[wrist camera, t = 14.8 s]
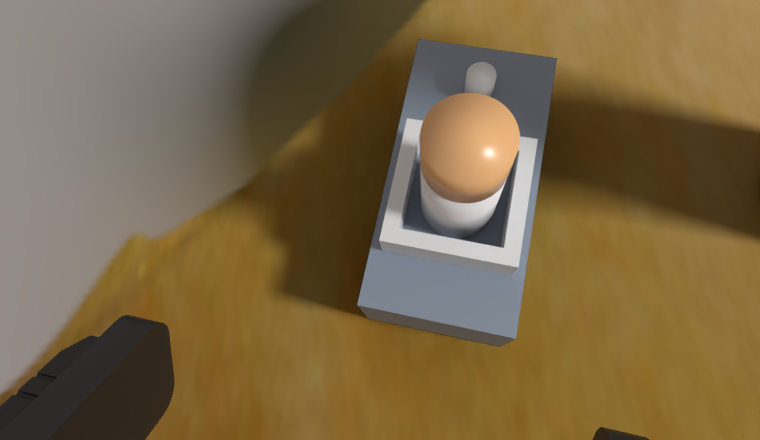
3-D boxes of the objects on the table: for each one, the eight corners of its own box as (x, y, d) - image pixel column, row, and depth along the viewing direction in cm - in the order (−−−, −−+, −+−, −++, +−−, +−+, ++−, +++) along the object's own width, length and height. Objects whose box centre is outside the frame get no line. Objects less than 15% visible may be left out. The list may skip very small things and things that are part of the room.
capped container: (499, 176, 36) (526, 100, 26) (488, 245, 34) (512, 190, 25) (428, 164, 36) (429, 85, 27) (414, 231, 35) (410, 173, 26)
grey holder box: (537, 107, 45) (565, 36, 36) (500, 346, 39) (523, 334, 30) (419, 89, 46) (418, 16, 37) (368, 318, 41) (352, 298, 32)
